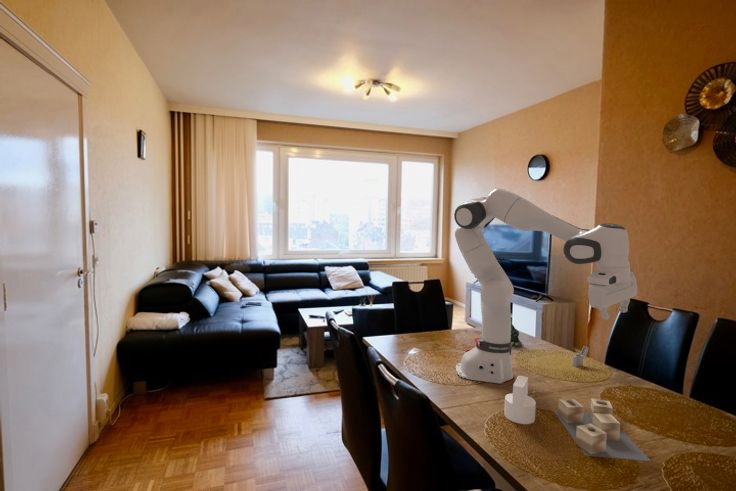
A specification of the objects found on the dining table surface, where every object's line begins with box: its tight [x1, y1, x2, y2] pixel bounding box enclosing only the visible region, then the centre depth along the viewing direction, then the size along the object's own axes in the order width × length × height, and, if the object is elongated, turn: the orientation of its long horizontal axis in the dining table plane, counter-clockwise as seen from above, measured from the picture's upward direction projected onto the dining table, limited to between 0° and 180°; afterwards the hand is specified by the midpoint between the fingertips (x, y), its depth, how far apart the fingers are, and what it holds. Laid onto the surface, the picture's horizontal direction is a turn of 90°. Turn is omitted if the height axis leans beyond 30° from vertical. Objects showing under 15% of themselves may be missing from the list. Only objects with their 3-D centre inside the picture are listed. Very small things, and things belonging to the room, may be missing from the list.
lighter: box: [572, 345, 590, 368], centre depth 162 cm, size 7×2×8 cm, turn 109°
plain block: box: [592, 413, 621, 441], centre depth 108 cm, size 5×5×5 cm
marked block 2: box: [589, 397, 614, 420], centre depth 117 cm, size 5×5×5 cm
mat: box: [553, 409, 652, 462], centre depth 110 cm, size 16×24×1 cm, turn 172°
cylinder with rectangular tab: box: [503, 375, 537, 425], centre depth 118 cm, size 9×9×12 cm
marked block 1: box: [557, 398, 585, 423], centre depth 117 cm, size 5×5×5 cm
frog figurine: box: [510, 322, 523, 347], centre depth 191 cm, size 18×18×12 cm
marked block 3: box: [575, 423, 607, 454], centre depth 102 cm, size 5×5×5 cm
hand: (614, 315), depth 122 cm, fingers open, 8 cm apart
